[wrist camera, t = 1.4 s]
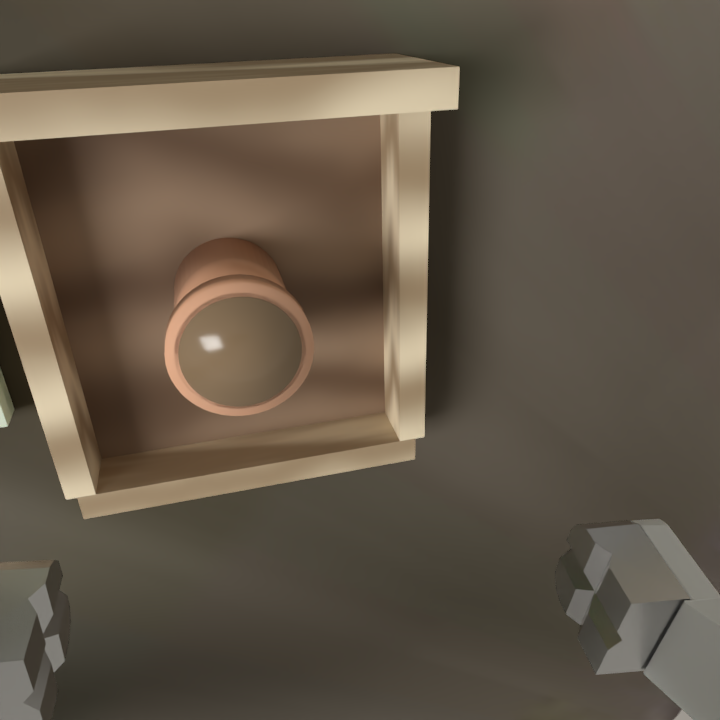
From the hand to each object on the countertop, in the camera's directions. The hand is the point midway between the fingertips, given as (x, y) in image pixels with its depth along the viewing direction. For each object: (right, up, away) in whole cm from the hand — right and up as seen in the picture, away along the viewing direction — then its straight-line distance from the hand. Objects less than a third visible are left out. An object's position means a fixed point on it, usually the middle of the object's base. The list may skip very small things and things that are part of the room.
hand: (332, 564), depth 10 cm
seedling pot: (-7, +7, +26) cm, 28 cm away
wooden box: (-7, +8, +27) cm, 29 cm away
